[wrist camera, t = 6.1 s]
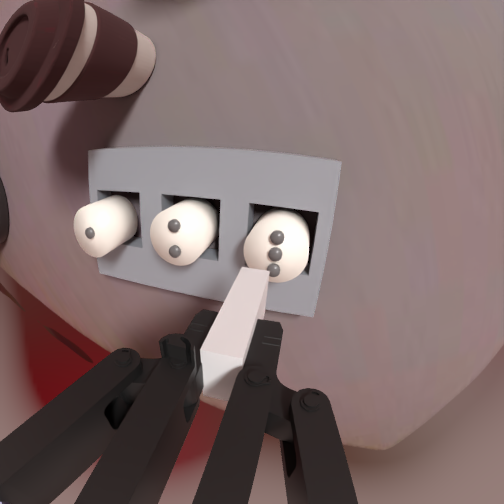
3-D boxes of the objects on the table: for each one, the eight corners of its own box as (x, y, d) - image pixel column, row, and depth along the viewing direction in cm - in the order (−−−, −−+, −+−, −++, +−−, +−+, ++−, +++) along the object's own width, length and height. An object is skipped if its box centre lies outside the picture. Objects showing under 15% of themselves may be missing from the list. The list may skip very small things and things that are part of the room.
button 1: (104, 237, 27) (75, 254, 23) (100, 193, 25) (68, 205, 21) (139, 243, 26) (111, 263, 22) (136, 196, 24) (105, 209, 20)
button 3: (253, 254, 26) (240, 278, 21) (257, 203, 24) (244, 218, 20) (305, 263, 25) (302, 289, 21) (313, 211, 23) (313, 228, 19)
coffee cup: (184, 27, 19) (77, -34, 6) (150, 118, 23) (19, 122, 10) (113, 24, 19) (9, -4, 6) (85, 102, 24) (-27, 109, 10)
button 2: (174, 242, 27) (150, 262, 23) (173, 194, 25) (146, 207, 21) (219, 249, 26) (201, 271, 22) (221, 199, 24) (202, 213, 20)
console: (111, 264, 31) (99, 272, 29) (102, 148, 25) (87, 150, 23) (313, 303, 27) (313, 317, 25) (338, 160, 22) (341, 162, 19)
